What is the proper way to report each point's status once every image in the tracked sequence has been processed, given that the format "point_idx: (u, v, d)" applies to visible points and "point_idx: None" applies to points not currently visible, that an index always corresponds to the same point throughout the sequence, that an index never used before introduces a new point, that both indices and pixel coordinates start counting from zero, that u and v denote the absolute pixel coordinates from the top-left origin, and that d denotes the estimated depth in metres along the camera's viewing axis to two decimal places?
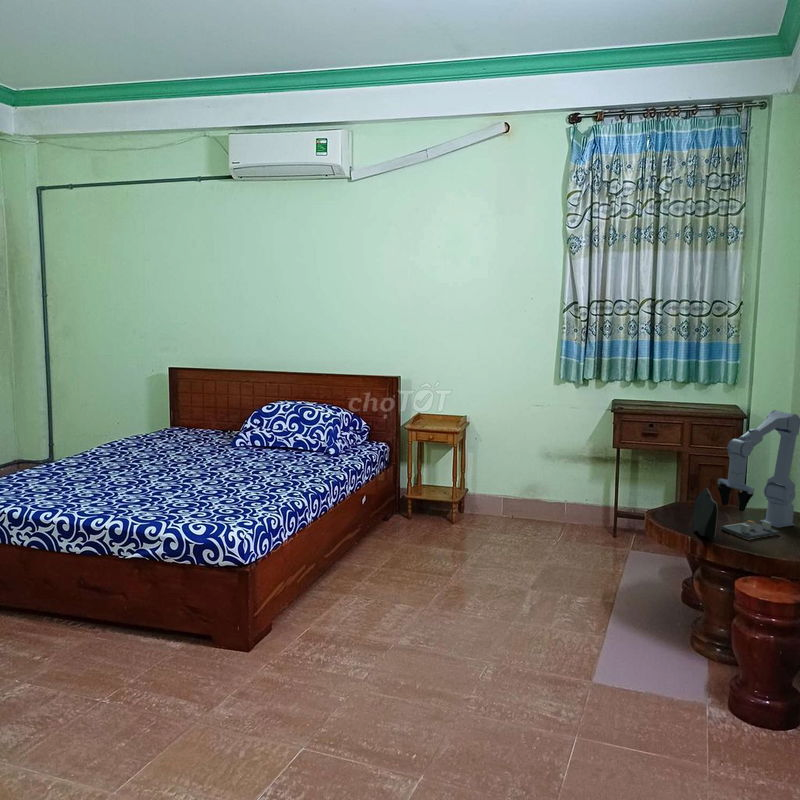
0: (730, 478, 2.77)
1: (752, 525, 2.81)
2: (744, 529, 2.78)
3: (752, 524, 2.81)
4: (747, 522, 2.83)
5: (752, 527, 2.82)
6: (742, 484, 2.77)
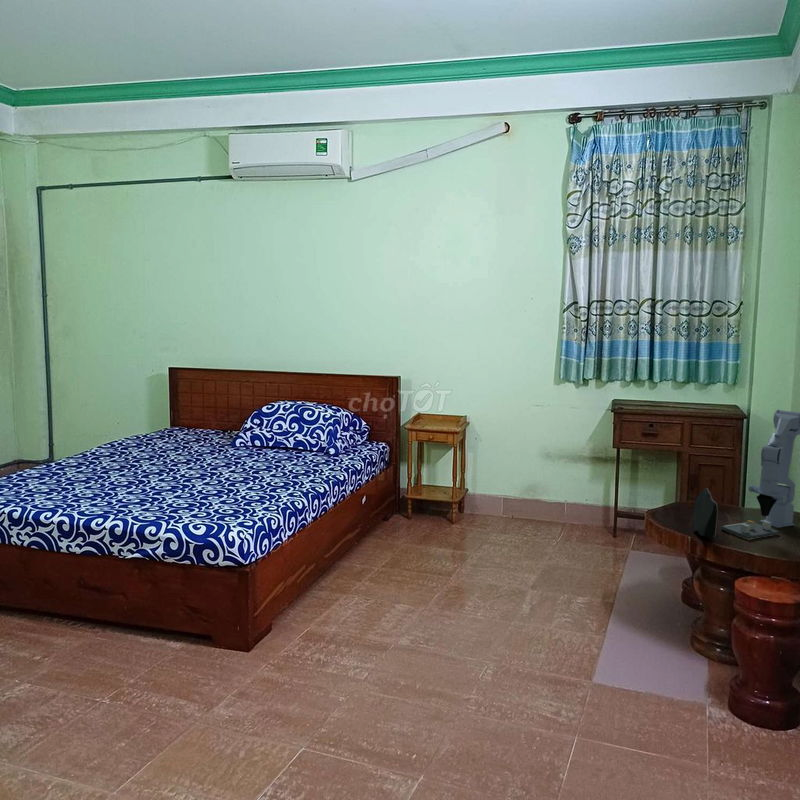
0: (763, 485, 2.74)
1: (752, 525, 2.81)
2: (744, 529, 2.78)
3: (752, 524, 2.81)
4: (747, 522, 2.83)
5: (752, 527, 2.82)
6: (774, 491, 2.73)
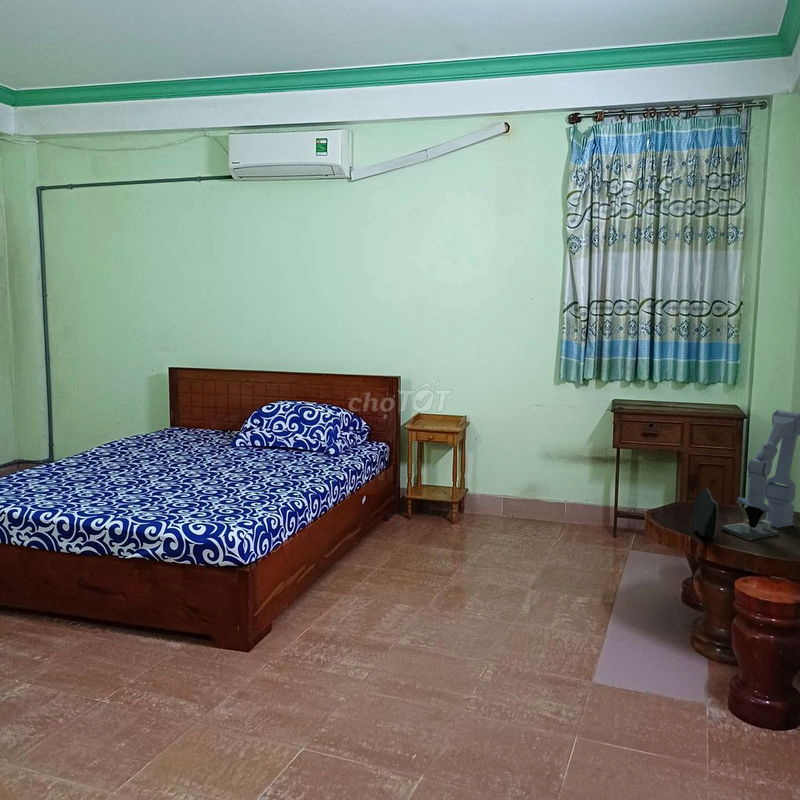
0: (750, 497, 2.79)
1: None
2: (744, 529, 2.78)
3: None
4: (744, 521, 2.84)
5: None
6: (762, 503, 2.78)
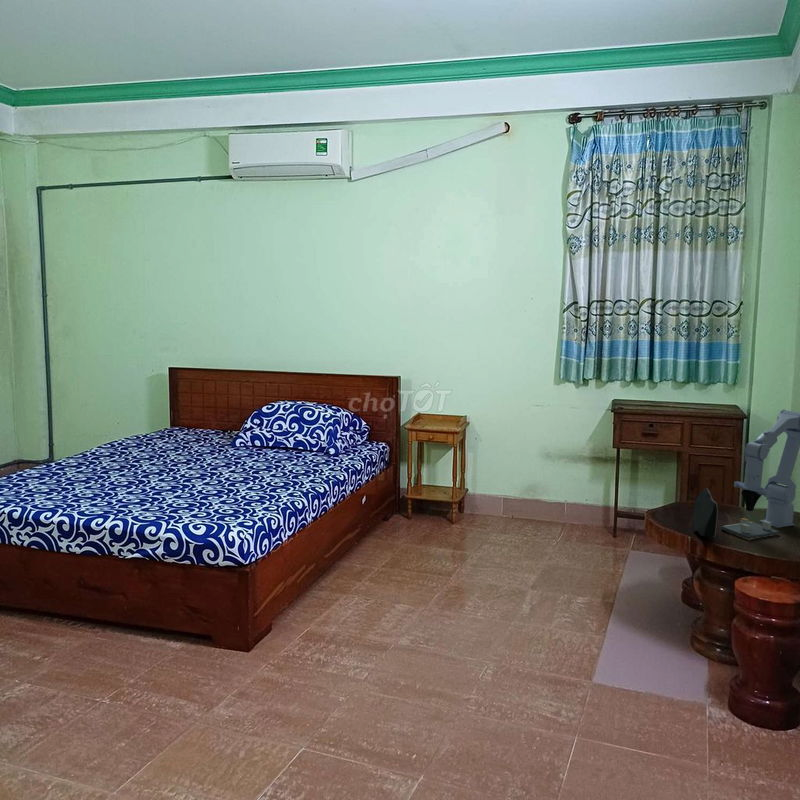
0: (747, 481, 2.80)
1: (746, 523, 2.84)
2: (744, 529, 2.78)
3: (746, 522, 2.84)
4: (741, 520, 2.85)
5: None
6: (759, 487, 2.79)
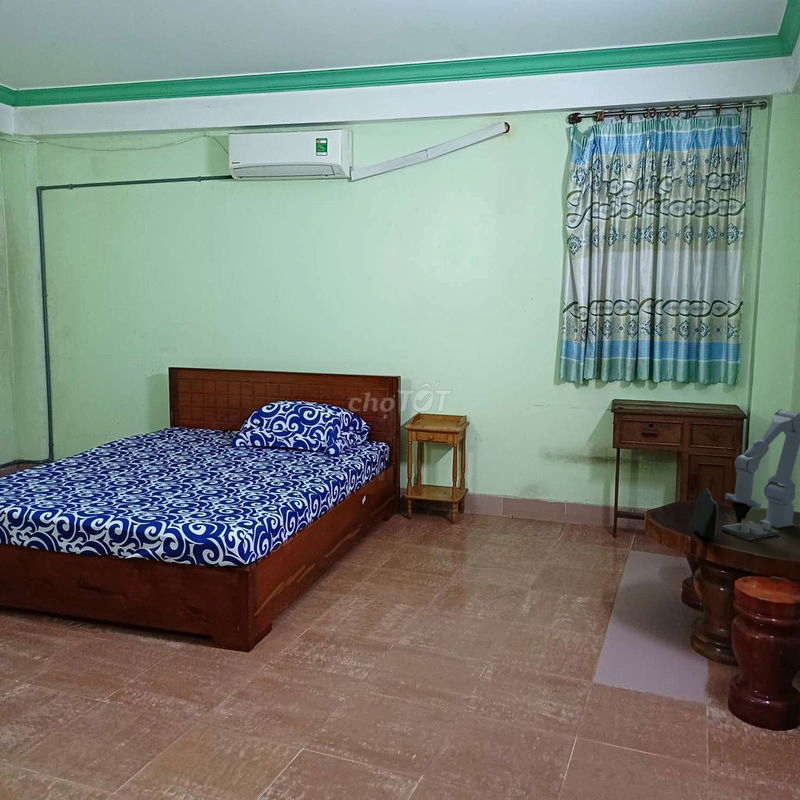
0: (738, 493, 2.84)
1: (747, 524, 2.83)
2: (744, 529, 2.78)
3: (747, 522, 2.83)
4: (742, 520, 2.85)
5: None
6: (749, 499, 2.83)
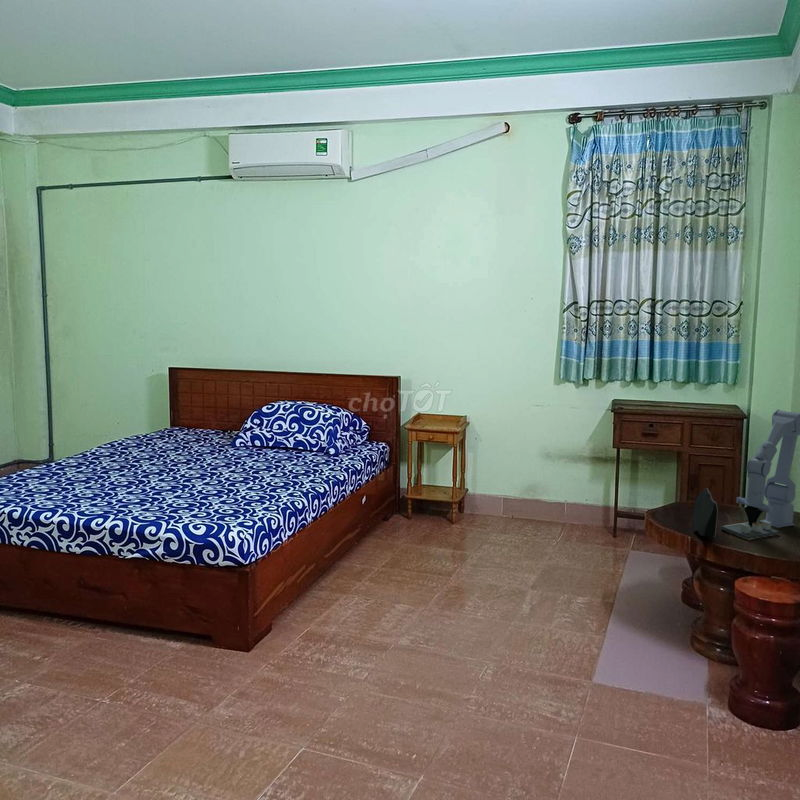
0: (749, 497, 2.79)
1: (758, 528, 2.79)
2: (744, 529, 2.78)
3: (758, 526, 2.79)
4: (753, 524, 2.80)
5: (758, 529, 2.79)
6: (761, 503, 2.78)
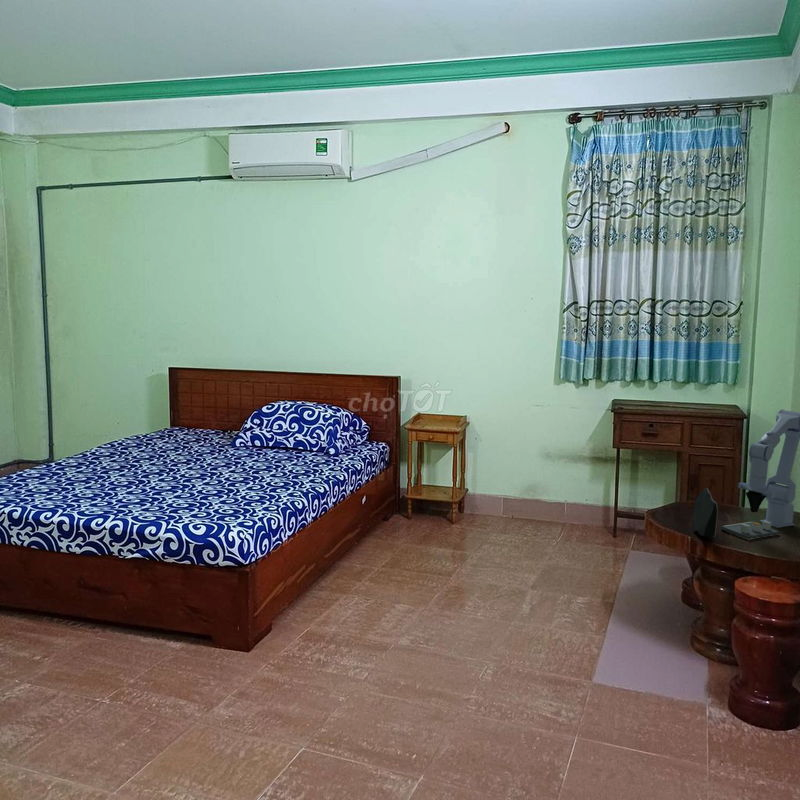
0: (752, 482, 2.78)
1: (757, 528, 2.79)
2: (744, 529, 2.78)
3: (758, 526, 2.79)
4: (753, 524, 2.81)
5: (758, 529, 2.79)
6: (763, 488, 2.77)
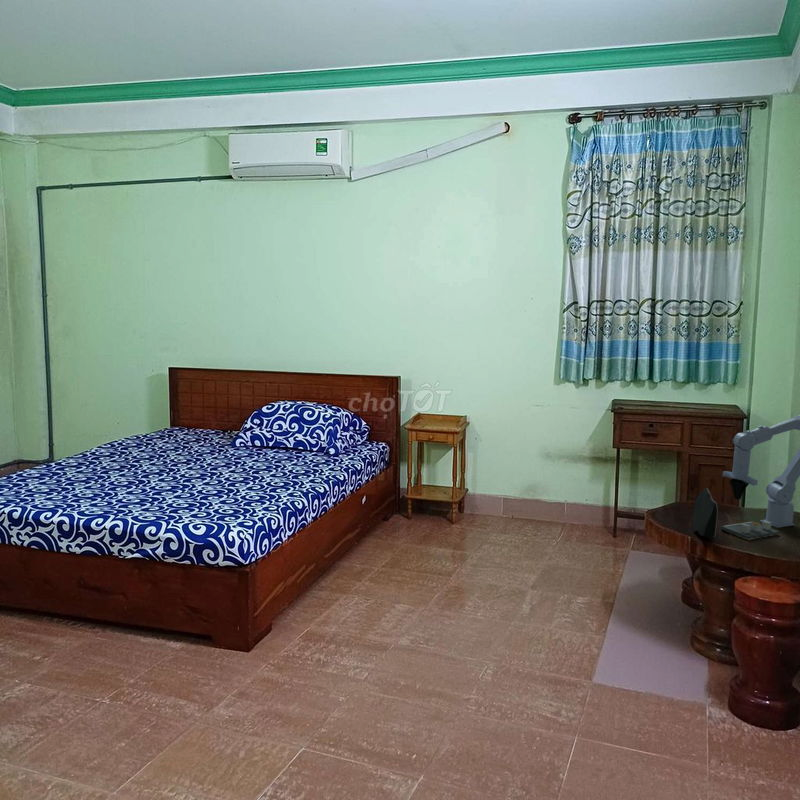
0: (735, 470, 2.91)
1: (757, 528, 2.79)
2: (744, 529, 2.78)
3: (758, 526, 2.79)
4: (753, 524, 2.81)
5: (758, 529, 2.79)
6: (746, 476, 2.90)
